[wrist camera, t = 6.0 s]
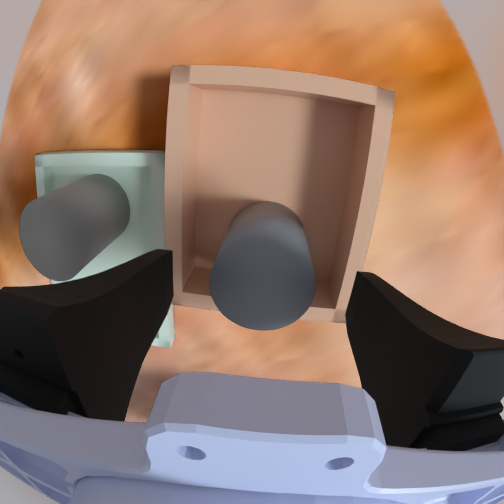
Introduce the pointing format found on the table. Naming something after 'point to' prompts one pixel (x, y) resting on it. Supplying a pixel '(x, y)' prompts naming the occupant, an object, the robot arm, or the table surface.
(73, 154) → the parts tray
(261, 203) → the pebble
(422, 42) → the table surface
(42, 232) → the pebble
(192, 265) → the dish
